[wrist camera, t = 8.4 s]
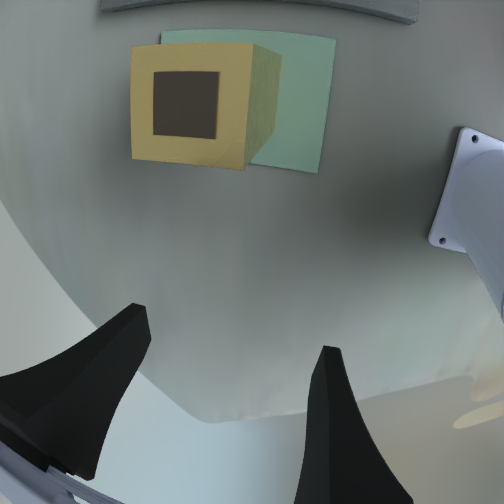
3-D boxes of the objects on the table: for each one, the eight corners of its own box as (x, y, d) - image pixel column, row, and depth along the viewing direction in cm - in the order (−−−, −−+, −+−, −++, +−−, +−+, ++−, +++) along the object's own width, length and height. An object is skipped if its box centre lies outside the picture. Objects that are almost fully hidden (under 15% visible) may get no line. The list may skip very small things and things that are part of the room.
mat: (336, 40, 14) (336, 39, 14) (317, 171, 18) (317, 173, 18) (164, 32, 15) (161, 31, 15) (161, 151, 20) (159, 153, 19)
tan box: (282, 55, 15) (252, 43, 8) (274, 131, 17) (242, 171, 11) (202, 51, 15) (129, 46, 9) (199, 123, 18) (130, 159, 12)
